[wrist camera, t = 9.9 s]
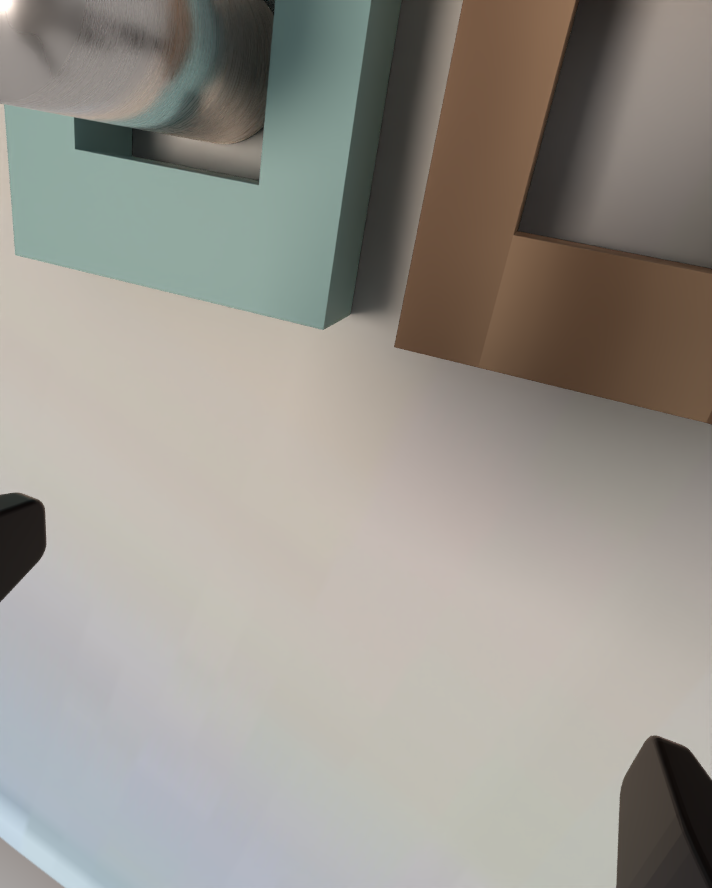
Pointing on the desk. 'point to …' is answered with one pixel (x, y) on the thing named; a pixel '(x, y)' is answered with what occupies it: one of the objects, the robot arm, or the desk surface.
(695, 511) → the desk surface
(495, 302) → the socket block
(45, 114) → the block
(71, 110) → the steel peg
